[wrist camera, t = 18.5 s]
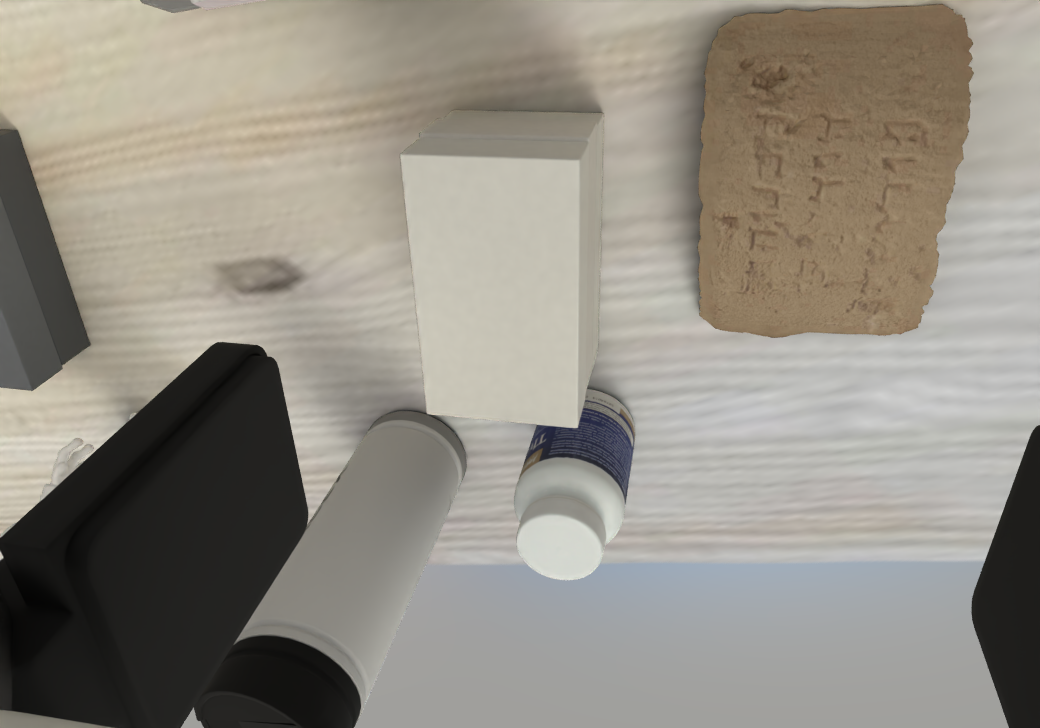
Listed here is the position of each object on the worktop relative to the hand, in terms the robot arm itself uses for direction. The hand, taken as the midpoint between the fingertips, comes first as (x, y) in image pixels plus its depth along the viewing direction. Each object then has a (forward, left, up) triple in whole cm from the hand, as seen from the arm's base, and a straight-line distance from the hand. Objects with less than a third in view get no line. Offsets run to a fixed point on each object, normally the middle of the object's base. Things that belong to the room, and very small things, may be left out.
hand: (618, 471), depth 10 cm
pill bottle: (+19, -4, -28) cm, 34 cm away
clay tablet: (+5, +6, -28) cm, 29 cm away
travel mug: (+22, -14, -28) cm, 39 cm away
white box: (+8, -7, -23) cm, 25 cm away
